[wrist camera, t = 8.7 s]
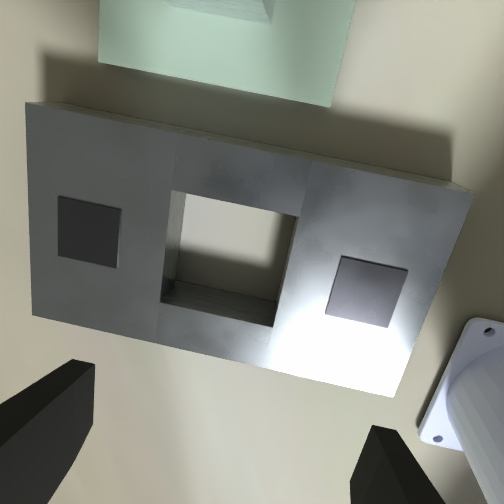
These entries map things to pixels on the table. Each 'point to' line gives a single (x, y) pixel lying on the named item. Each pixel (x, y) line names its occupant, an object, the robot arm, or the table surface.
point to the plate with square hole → (244, 193)
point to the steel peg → (231, 8)
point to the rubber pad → (232, 45)
